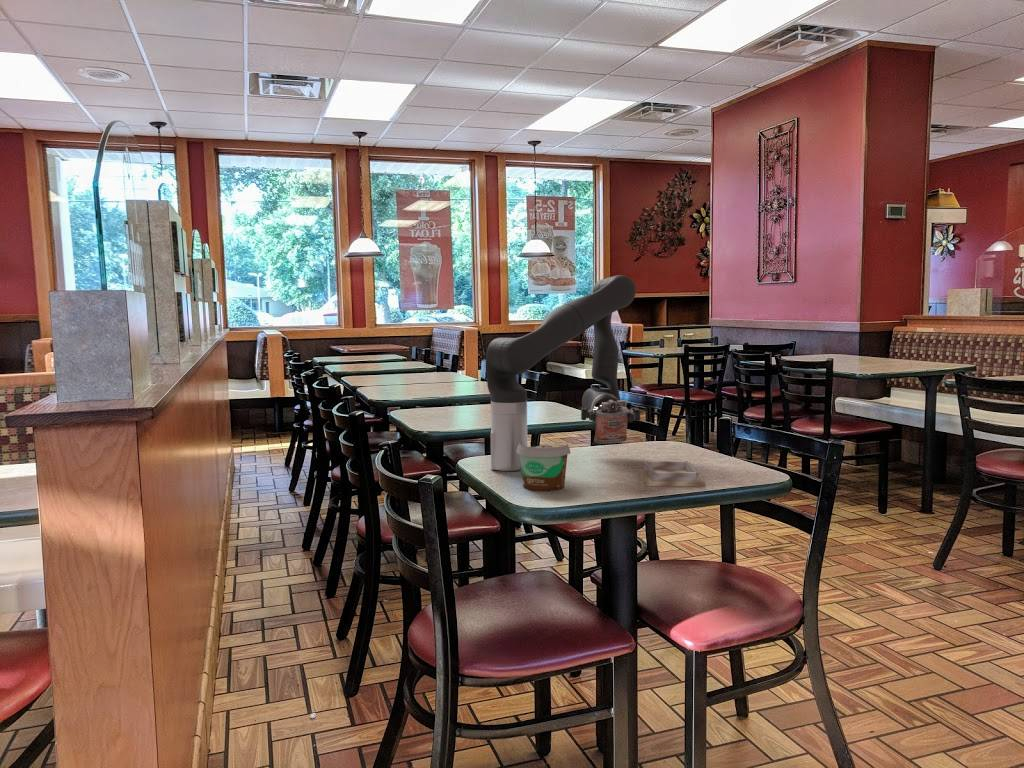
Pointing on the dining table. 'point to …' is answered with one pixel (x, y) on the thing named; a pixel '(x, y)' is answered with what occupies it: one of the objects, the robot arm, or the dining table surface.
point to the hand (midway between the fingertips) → (612, 417)
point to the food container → (543, 467)
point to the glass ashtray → (670, 474)
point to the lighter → (611, 422)
